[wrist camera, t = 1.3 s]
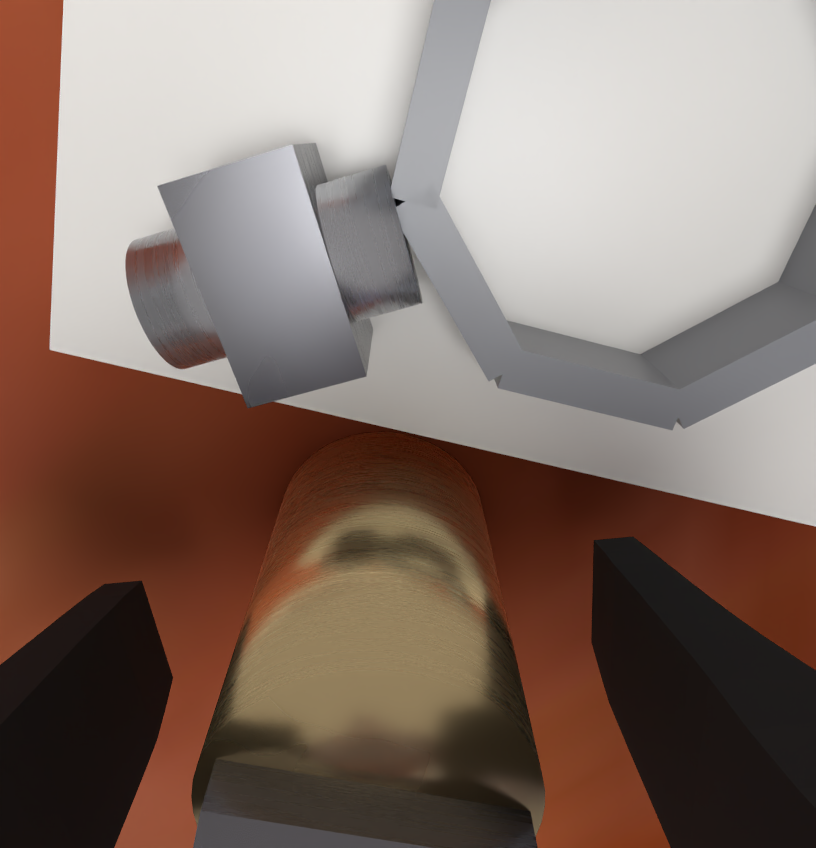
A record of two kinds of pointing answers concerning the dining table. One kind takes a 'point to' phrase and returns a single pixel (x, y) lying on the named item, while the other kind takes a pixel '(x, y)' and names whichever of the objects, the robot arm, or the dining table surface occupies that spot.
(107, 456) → the dining table surface
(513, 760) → the cylinder
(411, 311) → the base plate
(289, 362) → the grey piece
